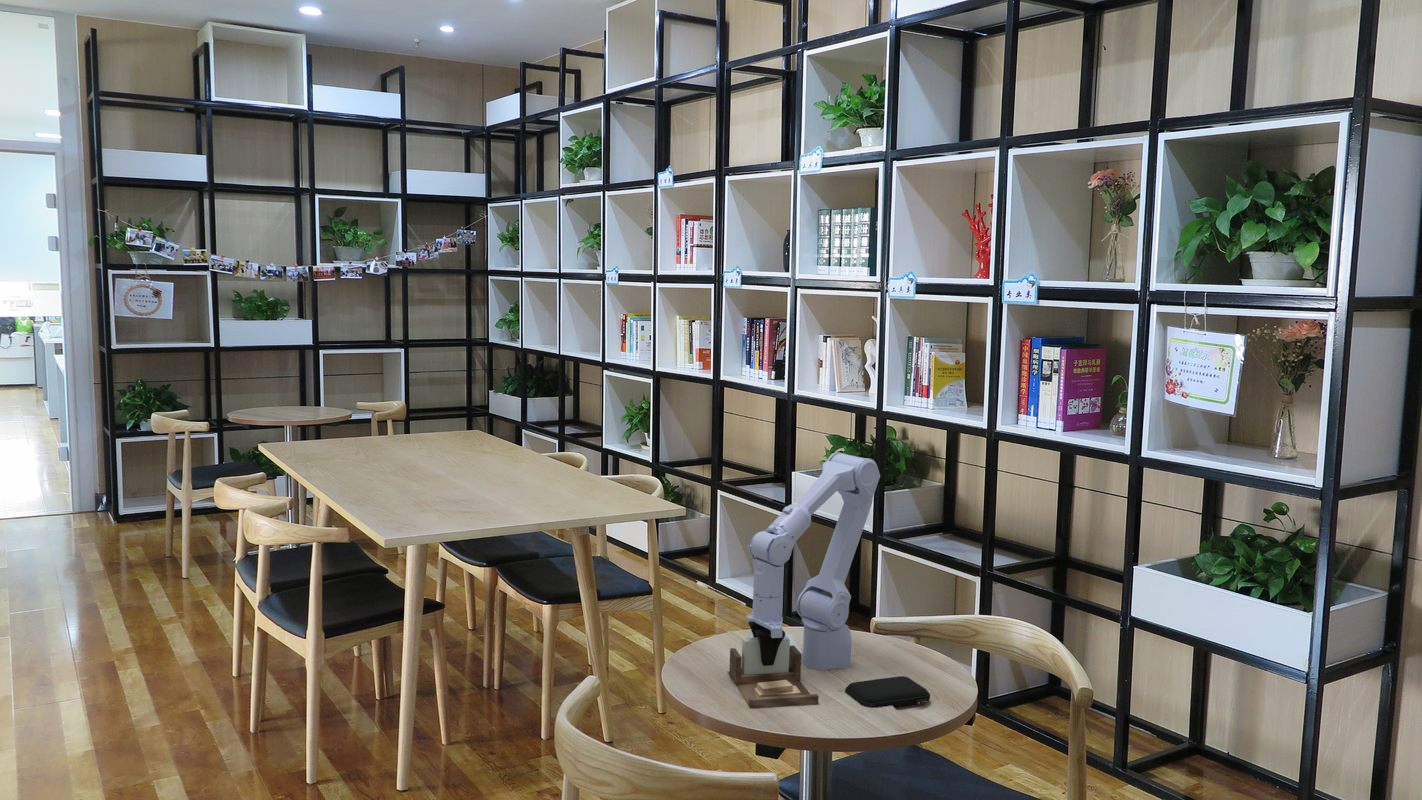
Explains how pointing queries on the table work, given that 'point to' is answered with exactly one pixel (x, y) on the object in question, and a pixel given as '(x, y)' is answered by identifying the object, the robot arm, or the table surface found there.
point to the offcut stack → (776, 689)
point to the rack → (749, 682)
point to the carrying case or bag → (888, 692)
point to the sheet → (753, 657)
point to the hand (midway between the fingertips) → (765, 661)
